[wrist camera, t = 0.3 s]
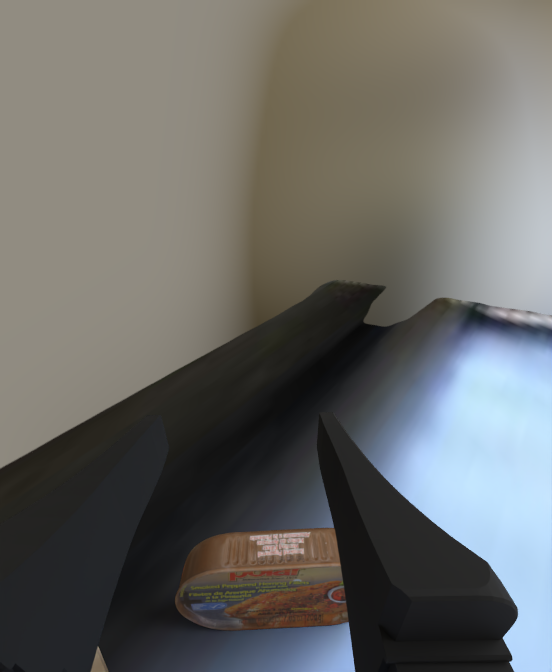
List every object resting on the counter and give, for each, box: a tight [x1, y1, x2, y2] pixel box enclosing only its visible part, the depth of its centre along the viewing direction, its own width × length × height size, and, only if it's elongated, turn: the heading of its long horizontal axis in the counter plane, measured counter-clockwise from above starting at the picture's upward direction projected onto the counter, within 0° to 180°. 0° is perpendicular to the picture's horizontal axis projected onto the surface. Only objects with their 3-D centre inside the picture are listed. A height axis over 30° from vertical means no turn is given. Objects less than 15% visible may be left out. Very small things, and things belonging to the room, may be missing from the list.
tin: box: [175, 528, 349, 630], centre depth 20 cm, size 15×3×8 cm, turn 92°
